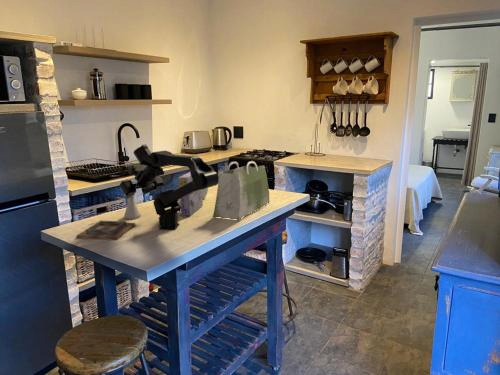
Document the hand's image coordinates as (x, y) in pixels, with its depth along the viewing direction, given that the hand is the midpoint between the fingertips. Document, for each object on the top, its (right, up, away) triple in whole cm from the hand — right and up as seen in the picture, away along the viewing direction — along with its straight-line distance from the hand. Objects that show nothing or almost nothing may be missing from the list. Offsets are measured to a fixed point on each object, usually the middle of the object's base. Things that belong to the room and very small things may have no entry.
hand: (135, 195), depth 160 cm
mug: (+23, -2, +36) cm, 42 cm away
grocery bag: (+46, -7, +13) cm, 49 cm away
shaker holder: (-7, -14, -14) cm, 21 cm away
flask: (-2, -10, +4) cm, 11 cm away
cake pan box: (+23, -7, +13) cm, 27 cm away
